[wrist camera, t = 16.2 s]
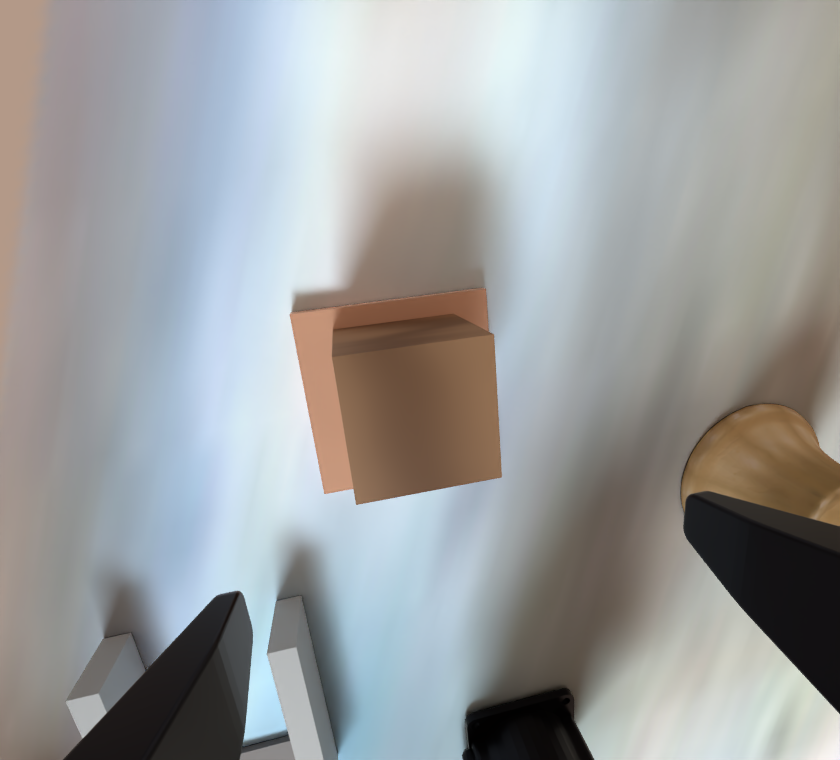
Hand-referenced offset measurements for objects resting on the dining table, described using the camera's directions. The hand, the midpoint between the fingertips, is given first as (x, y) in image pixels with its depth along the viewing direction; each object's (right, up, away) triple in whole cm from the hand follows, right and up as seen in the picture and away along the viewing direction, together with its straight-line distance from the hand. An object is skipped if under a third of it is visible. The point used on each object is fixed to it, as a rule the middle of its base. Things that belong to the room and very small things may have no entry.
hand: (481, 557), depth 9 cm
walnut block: (-2, +3, +10) cm, 11 cm away
